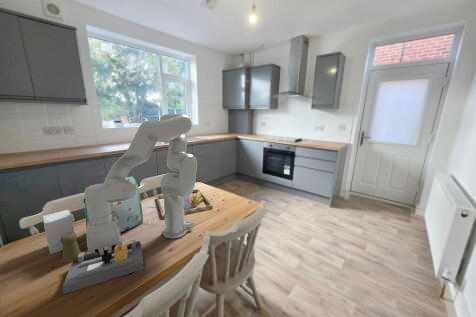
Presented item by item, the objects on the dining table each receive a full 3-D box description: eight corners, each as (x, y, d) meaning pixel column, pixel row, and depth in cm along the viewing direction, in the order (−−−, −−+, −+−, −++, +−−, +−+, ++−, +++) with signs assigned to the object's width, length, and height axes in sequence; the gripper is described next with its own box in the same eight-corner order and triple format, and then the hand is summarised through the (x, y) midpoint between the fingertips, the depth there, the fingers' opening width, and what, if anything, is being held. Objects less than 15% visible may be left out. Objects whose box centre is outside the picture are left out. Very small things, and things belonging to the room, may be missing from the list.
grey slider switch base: (142, 248, 87) (141, 238, 85) (143, 268, 75) (142, 256, 74) (74, 266, 75) (72, 254, 74) (63, 294, 64) (61, 280, 63)
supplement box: (77, 245, 88) (72, 215, 85) (50, 255, 81) (43, 223, 78) (73, 237, 94) (68, 209, 91) (48, 245, 87) (41, 215, 84)
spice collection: (208, 197, 146) (208, 185, 144) (199, 211, 123) (199, 198, 121) (176, 195, 148) (176, 184, 146) (162, 209, 125) (161, 196, 123)
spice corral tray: (198, 192, 153) (198, 189, 152) (212, 209, 125) (212, 205, 124) (156, 199, 138) (156, 195, 137) (162, 220, 110) (162, 215, 110)
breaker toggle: (127, 254, 78) (126, 241, 77) (127, 260, 75) (126, 247, 74) (116, 257, 76) (114, 244, 75) (115, 263, 73) (113, 250, 72)
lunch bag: (129, 215, 115) (125, 172, 110) (146, 223, 107) (142, 177, 102) (84, 234, 96) (76, 183, 90) (100, 245, 88) (93, 190, 82)
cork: (79, 251, 84) (75, 228, 82) (83, 257, 80) (79, 234, 78) (61, 258, 80) (56, 234, 77) (64, 265, 76) (59, 241, 74)
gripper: (125, 209, 76) (129, 249, 80) (78, 217, 69) (85, 261, 73) (124, 217, 70) (129, 261, 74) (72, 227, 63) (80, 275, 67)
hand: (107, 261), depth 73 cm, fingers closed
